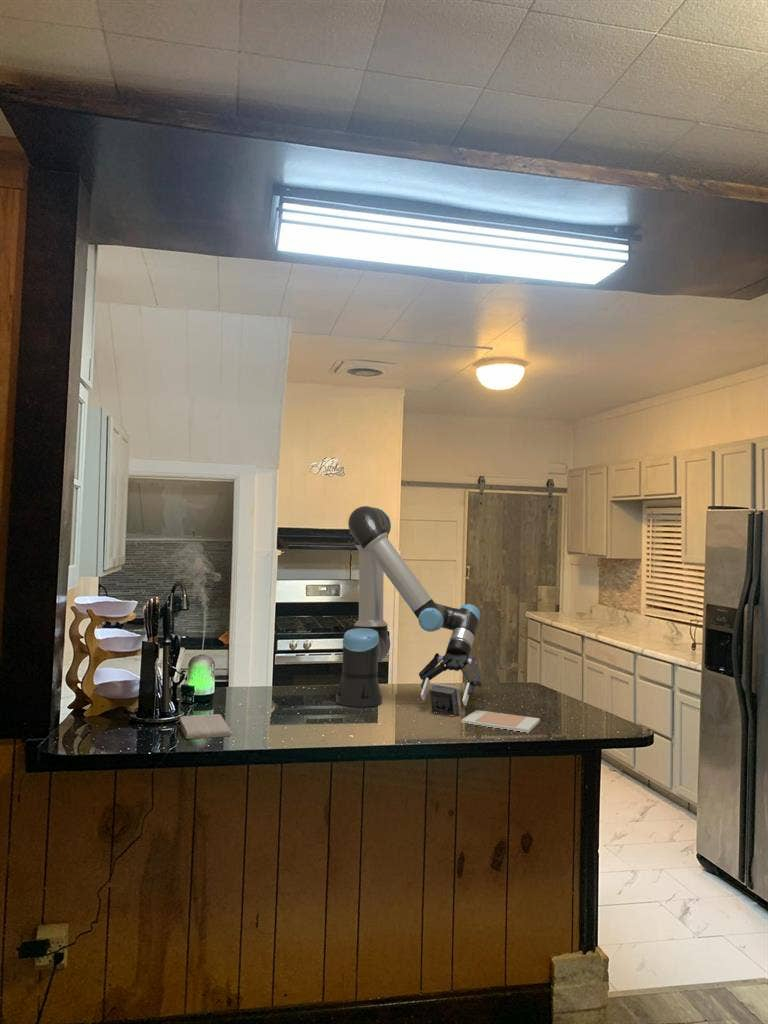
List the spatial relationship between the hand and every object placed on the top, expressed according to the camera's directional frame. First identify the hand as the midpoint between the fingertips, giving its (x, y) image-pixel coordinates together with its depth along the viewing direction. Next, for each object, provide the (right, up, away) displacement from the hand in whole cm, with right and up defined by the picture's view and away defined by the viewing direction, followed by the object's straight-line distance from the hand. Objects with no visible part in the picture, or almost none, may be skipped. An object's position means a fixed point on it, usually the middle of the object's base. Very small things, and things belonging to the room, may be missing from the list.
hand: (443, 700), depth 221 cm
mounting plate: (+17, -5, -6) cm, 19 cm away
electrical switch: (+1, -5, +2) cm, 5 cm away
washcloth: (-67, -2, -25) cm, 72 cm away
